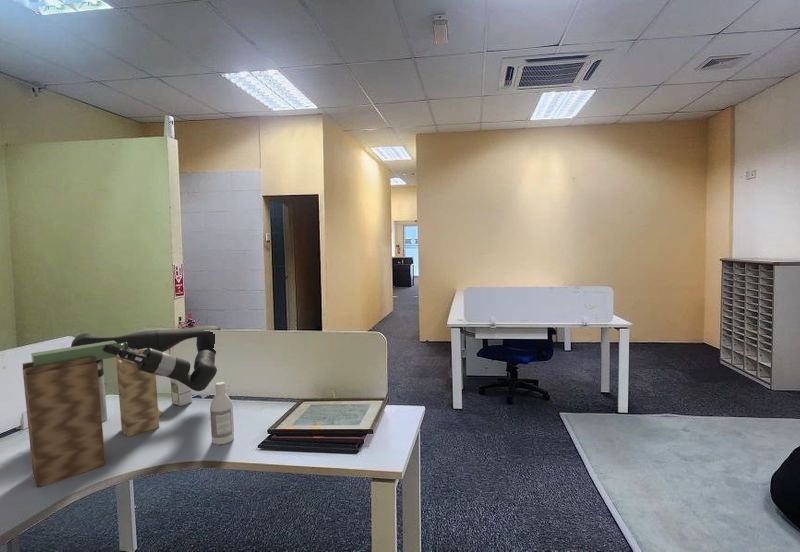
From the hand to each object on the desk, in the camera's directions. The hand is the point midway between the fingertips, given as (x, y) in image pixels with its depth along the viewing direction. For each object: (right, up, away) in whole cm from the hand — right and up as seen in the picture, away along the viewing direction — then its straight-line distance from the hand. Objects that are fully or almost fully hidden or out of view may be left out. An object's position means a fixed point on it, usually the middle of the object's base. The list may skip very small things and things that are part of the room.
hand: (102, 346), depth 134 cm
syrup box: (+1, -31, +47) cm, 56 cm away
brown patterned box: (-7, -36, -4) cm, 37 cm away
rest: (-2, -34, +23) cm, 41 cm away
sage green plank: (-4, -4, -3) cm, 6 cm away
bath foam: (+32, -34, +13) cm, 49 cm away
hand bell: (-5, -33, +34) cm, 48 cm away
